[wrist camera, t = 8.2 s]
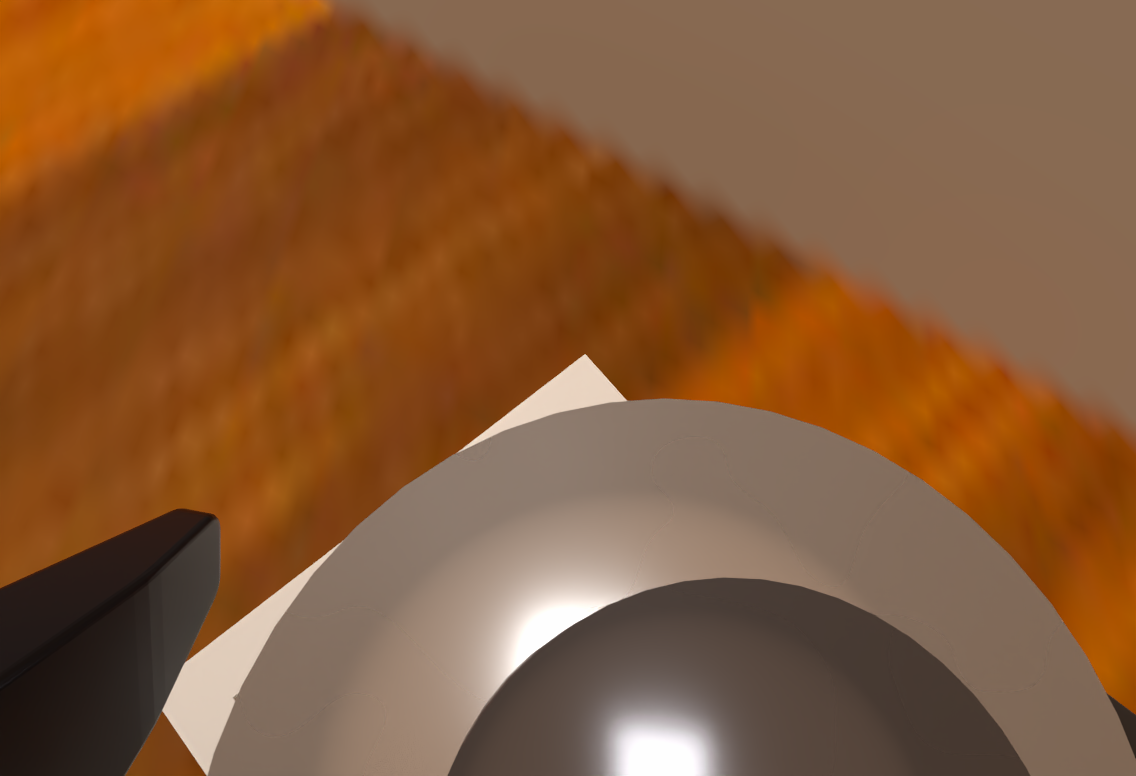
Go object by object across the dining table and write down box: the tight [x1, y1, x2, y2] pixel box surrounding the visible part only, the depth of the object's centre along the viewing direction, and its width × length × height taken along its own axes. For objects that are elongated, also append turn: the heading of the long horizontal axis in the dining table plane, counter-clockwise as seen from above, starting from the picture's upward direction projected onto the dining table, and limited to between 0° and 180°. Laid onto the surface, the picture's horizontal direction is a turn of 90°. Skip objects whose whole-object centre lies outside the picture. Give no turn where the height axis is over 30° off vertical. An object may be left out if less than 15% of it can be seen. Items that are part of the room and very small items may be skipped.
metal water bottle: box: [207, 399, 1136, 776], centre depth 10 cm, size 5×5×14 cm
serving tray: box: [162, 354, 627, 775], centre depth 16 cm, size 10×10×2 cm
